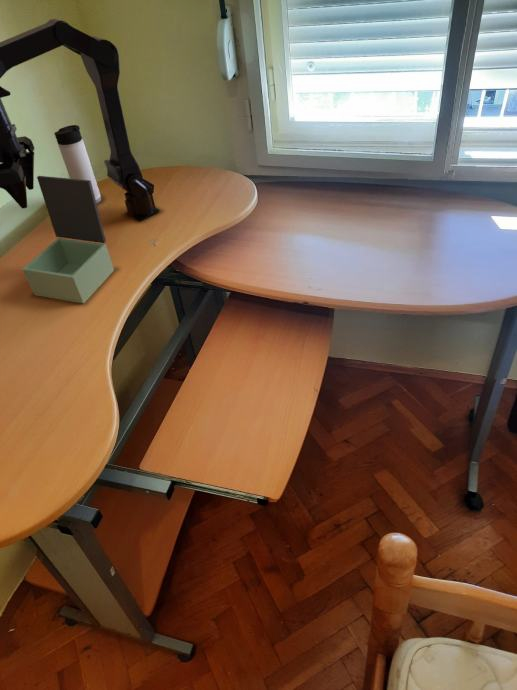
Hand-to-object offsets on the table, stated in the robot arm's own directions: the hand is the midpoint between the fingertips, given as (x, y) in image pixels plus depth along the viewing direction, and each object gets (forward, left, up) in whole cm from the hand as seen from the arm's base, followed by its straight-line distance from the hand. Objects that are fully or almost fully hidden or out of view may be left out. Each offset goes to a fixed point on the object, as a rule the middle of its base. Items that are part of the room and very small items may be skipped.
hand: (28, 198), depth 102 cm
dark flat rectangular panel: (-3, +14, 0) cm, 14 cm away
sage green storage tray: (+3, +16, -14) cm, 22 cm away
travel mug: (-21, -15, -14) cm, 29 cm away
